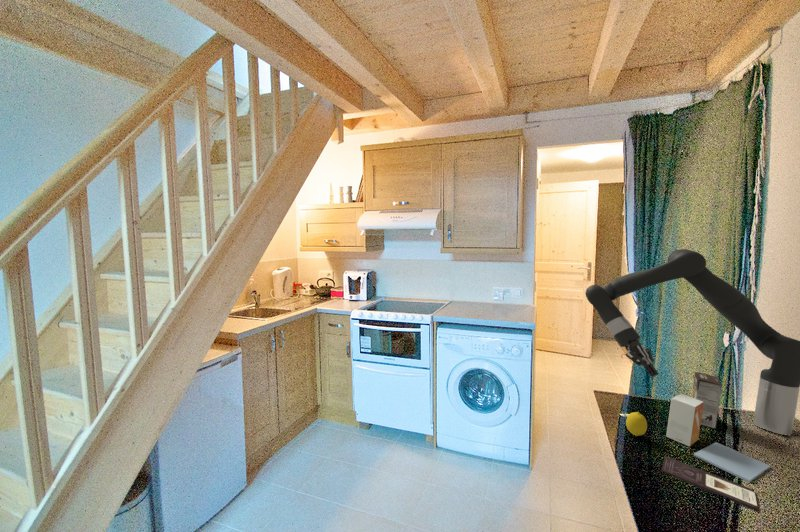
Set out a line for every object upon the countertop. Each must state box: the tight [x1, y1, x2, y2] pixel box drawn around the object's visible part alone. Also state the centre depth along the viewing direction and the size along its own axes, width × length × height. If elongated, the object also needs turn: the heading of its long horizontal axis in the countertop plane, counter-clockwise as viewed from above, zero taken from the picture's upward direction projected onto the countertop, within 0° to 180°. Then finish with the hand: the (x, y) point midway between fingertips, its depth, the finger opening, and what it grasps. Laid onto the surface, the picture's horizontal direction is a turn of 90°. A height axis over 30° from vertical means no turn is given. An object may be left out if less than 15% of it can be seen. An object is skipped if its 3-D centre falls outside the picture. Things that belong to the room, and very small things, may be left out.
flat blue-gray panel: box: [693, 441, 771, 483], centre depth 97 cm, size 15×12×1 cm
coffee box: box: [691, 371, 723, 429], centre depth 121 cm, size 9×6×16 cm
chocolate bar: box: [661, 455, 759, 512], centre depth 88 cm, size 9×1×18 cm
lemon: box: [625, 411, 648, 437], centre depth 108 cm, size 6×6×8 cm
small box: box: [665, 393, 704, 447], centre depth 108 cm, size 8×6×13 cm
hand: (655, 375), depth 116 cm, fingers closed
